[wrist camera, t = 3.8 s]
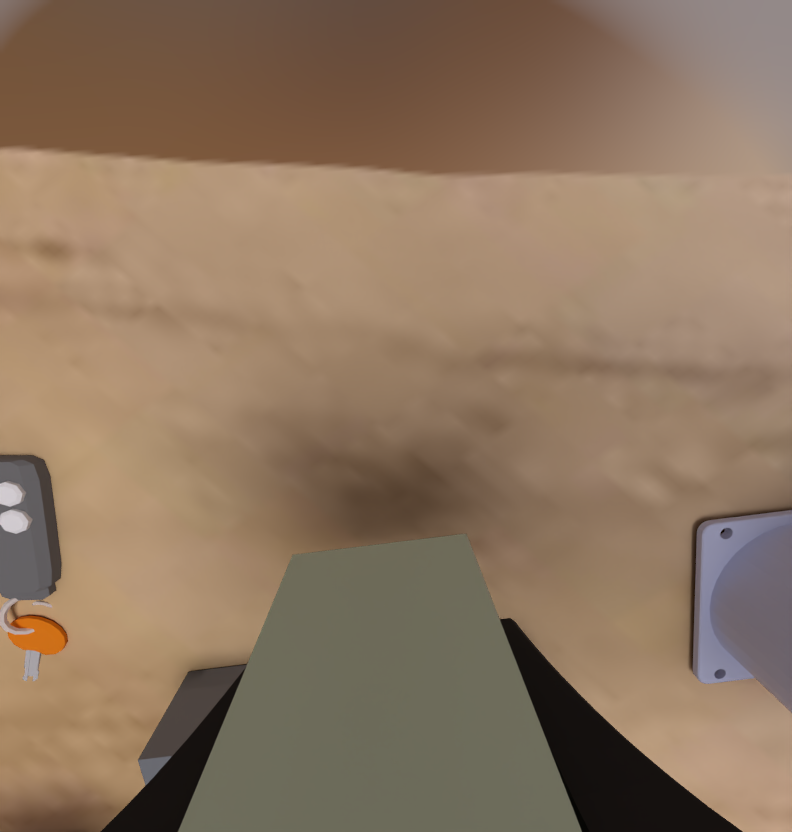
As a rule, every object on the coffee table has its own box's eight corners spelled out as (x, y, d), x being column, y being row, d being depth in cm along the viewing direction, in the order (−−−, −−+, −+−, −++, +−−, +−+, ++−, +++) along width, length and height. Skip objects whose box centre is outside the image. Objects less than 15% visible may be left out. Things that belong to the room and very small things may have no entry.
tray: (515, 631, 19) (548, 710, 15) (533, 877, 22) (564, 994, 18) (188, 671, 19) (137, 760, 15) (251, 910, 22) (223, 1035, 18)
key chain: (-36, 453, 17) (-74, 464, 16) (56, 450, 17) (25, 462, 16) (27, 713, 20) (-1, 743, 19) (106, 711, 20) (84, 741, 19)
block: (466, 533, 11) (605, 890, 4) (480, 680, 12) (611, 1176, 5) (292, 554, 11) (130, 947, 4) (320, 700, 12) (227, 1222, 5)
